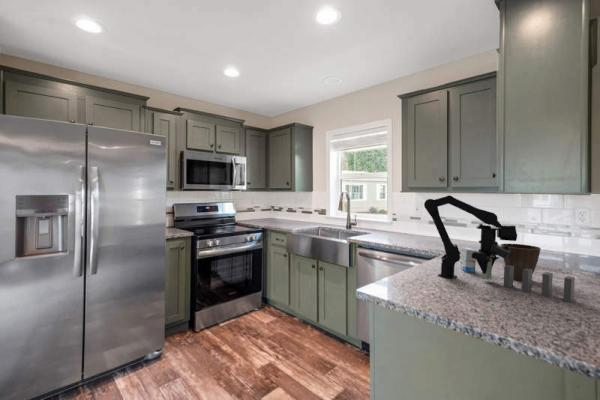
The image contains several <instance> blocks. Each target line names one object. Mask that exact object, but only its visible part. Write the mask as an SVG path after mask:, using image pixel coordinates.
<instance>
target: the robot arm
mask: <svg viewBox="0 0 600 400" xmlns="http://www.w3.org/2000/svg"><path fill="white" fill-rule="evenodd" d="M448 204H449V205H451V206H453V207H456V208H457V209H459V210H461V211H464V212H465V213H468V214H470V215H472V216H473V217H475V218H476V219H478V220H479V221H480V222H482V223H484V225H483V224H482V223H479V224H478V225H477V226H476V229H478V230H480V240H478V243H479V244H480V248H479V249H478V251H477V250H476V252H473V253H472V258H475V259H476V262H477V264H478V266H479V269H480V270H481V272H483V273H484V274H486V271H487V266H488V263H489V262H490V261H491V260H490V258H492V268H493V267H494V265H495V262H496V261H497V260H500V257H501V259H503V258H508V256H509V254H511V250H510V247H508V246H504V247H502V246H501V245H499V243H498V241H497V239H496V238H498V239H499V241H508V242H509V241H511V242H516V241H517V238H518V233H517V229H516V228H517V226H515V225H502V224H501V223H500V221H499V219H498V215H497V214H495V212H491V211H489V210H485V209H481V208H479V207H478V208H477V207H475V206H473V205H471V204H470V203H467V202H464V201H462V200H460V199H457V198H455V197H453V196H452V195H450V194H449V195H446V196H442V197H438V198H436V199H434V198H428V199H426V200H425V201H424V204H423V206H424V208H425V210H426V212H427V213H428V214H429V216H430V217H431V219H432V220H433V223H434V226H435V227H436V230H437V233H438V234H439V237H440V240H441V241H442V243H443V247H444V252H445V254H444V255H442V256H441V258H440V259H441V264H440V266H441V267H440V273H439V274H437V276H438V277H442V278H447V279H450V280H451V279H454V278H457V277H458V275H455V265H456V263H457V262H460V256H461V250H459V247H458V244H457V243H455V244H453V242H452V241H451V238H450V236H449V234H448V232H447V229H446V227H445V224H444V222H443V220H442V218H441V215H440V212H439V208H438V207H442V206H445V205H448ZM485 224H486V225H485ZM492 226H493V227H492Z"/></svg>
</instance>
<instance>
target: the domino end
mask: <svg viewBox="0 0 600 400" xmlns="http://www.w3.org/2000/svg"><path fill="white" fill-rule="evenodd" d="M575 280H576V277H575V276H569V275H567V276H564V279H563V281H564V282H563V302H564V301H565V303H568V302H569V304H572V303H573V302H574V301H575V283H576V282H575ZM572 301H573V302H572Z"/></svg>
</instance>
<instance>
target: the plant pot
mask: <svg viewBox="0 0 600 400" xmlns="http://www.w3.org/2000/svg"><path fill="white" fill-rule="evenodd" d="M500 246H502V247H504V246H508V247H510V250H511V254H509V256H508V258H502V259H503V263H504V266H507V265H511V266H514V279H513V281H518V282H522V272H523V270H524V269H526V268H528V269H533V270H532V275H534V272H535V270H536V267H537V264H538V262H539V261H538V260H539V257H540V254H541V249H542V248H541V247H539V246H536V245H529V244H521V243H501V244H500Z"/></svg>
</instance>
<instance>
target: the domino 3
mask: <svg viewBox="0 0 600 400" xmlns="http://www.w3.org/2000/svg"><path fill="white" fill-rule="evenodd" d="M541 277H542V278H541V297H543V296H544V297H545V298H547V297H548V298H550V297H551V296H552V295H553V272H550V271H549V272H548V271H545V272H544V273H543V272H542V275H541Z"/></svg>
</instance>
